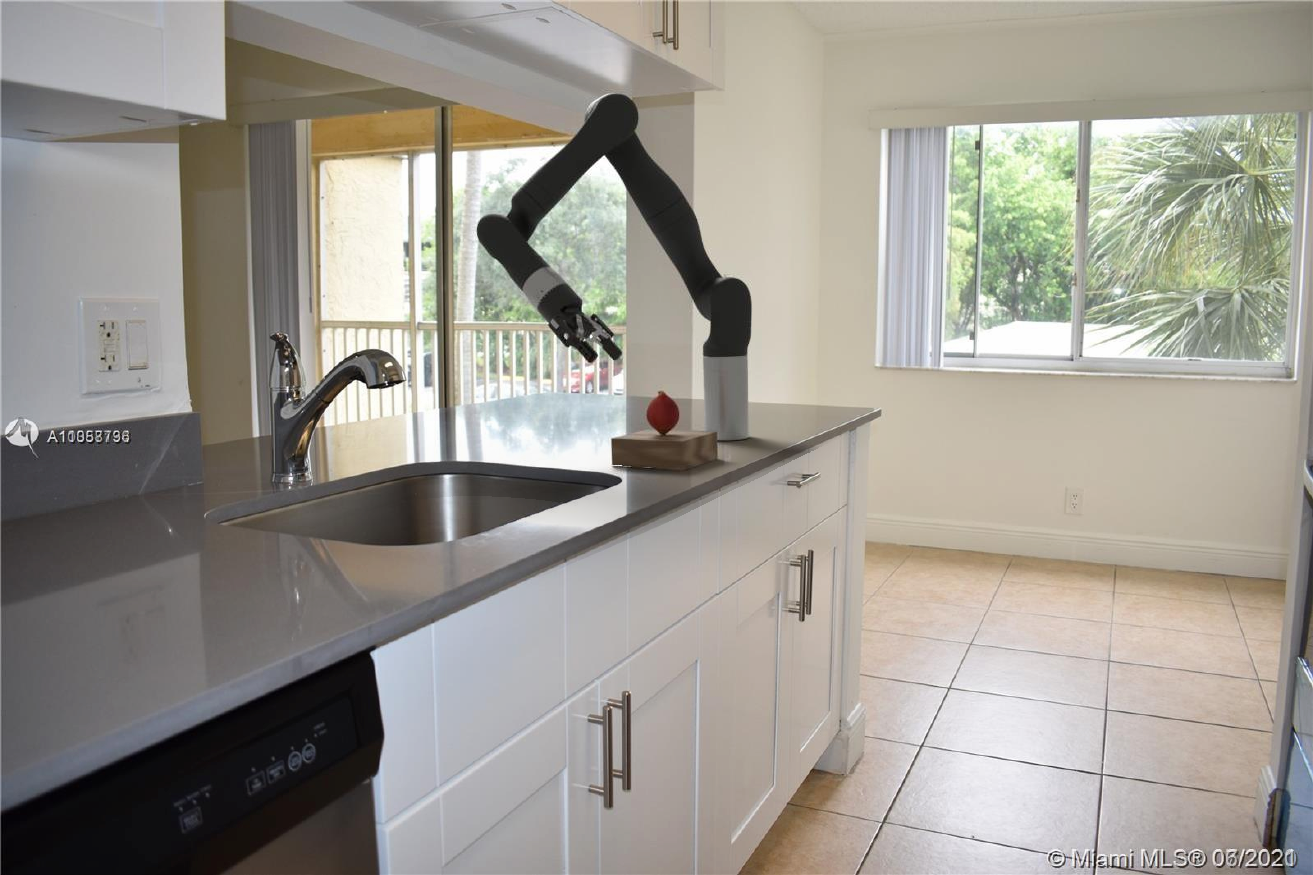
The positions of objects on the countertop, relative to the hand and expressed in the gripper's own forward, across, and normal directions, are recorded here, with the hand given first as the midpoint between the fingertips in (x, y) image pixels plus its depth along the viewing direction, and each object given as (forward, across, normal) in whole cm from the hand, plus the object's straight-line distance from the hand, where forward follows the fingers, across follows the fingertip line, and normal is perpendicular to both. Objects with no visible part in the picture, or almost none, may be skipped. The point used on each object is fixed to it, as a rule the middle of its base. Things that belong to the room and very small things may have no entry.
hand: (607, 358), depth 182 cm
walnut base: (+21, 0, +5) cm, 22 cm away
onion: (+18, 0, +2) cm, 18 cm away
